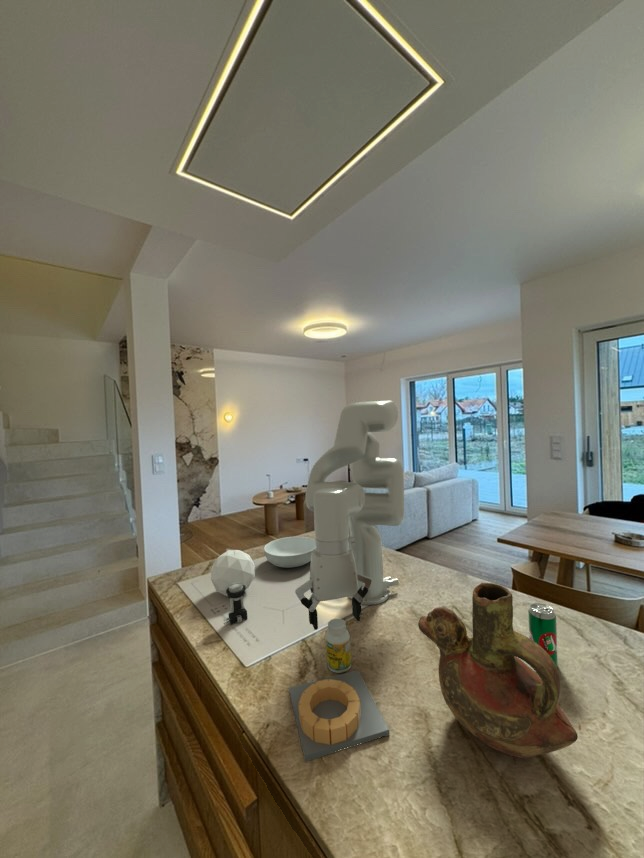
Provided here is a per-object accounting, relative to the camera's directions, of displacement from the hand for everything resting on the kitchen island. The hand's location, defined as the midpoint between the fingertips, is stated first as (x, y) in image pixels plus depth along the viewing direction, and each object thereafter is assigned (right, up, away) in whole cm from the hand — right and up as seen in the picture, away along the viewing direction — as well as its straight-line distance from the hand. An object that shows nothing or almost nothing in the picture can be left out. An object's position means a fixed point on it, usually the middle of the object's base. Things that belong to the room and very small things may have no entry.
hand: (335, 622), depth 77 cm
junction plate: (0, -11, -11) cm, 16 cm away
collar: (-2, -11, -13) cm, 17 cm away
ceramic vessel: (+26, -10, -16) cm, 32 cm away
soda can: (+45, -8, -2) cm, 46 cm away
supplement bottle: (+1, -11, +1) cm, 11 cm away
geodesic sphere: (-32, -11, +37) cm, 50 cm away
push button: (-27, -11, +20) cm, 36 cm away
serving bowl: (-15, -9, +58) cm, 61 cm away
